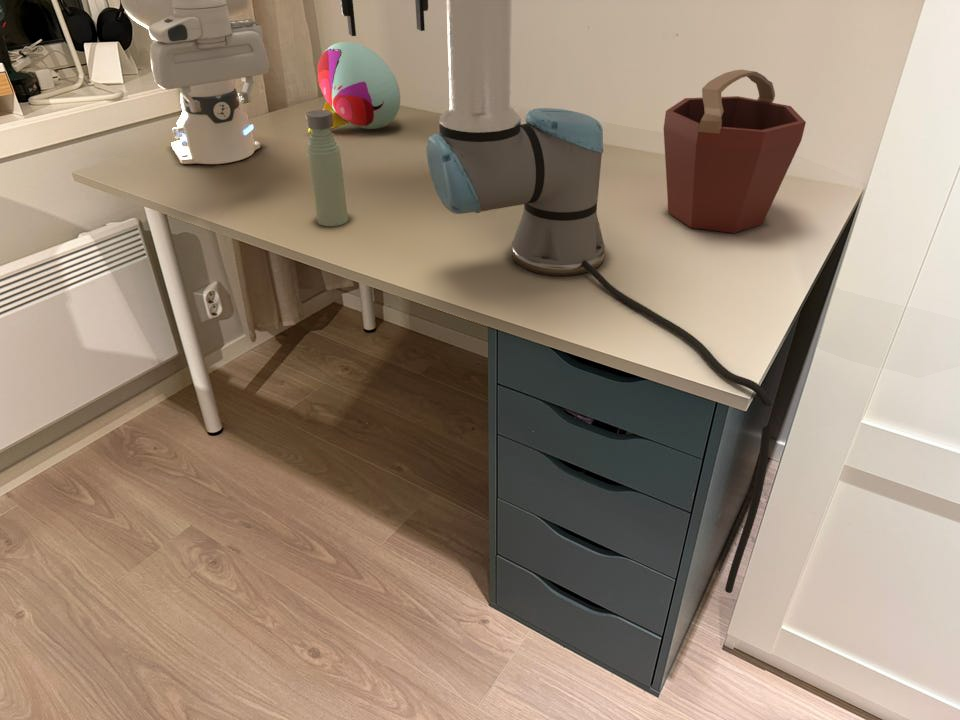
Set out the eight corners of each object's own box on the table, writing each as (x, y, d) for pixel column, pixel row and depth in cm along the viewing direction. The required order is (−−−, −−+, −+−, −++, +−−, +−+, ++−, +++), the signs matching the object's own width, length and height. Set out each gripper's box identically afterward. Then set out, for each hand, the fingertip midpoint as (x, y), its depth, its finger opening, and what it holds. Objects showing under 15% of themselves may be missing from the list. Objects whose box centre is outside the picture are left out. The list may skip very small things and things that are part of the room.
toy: (277, 110, 181) (275, 51, 163) (352, 72, 191) (358, 13, 173) (336, 175, 178) (341, 122, 160) (410, 134, 188) (421, 79, 170)
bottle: (347, 213, 134) (335, 110, 123) (348, 224, 129) (336, 119, 118) (317, 215, 133) (302, 112, 122) (317, 227, 128) (302, 121, 118)
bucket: (710, 250, 119) (740, 96, 105) (622, 208, 134) (638, 69, 120) (804, 218, 129) (843, 75, 115) (713, 183, 145) (736, 53, 131)
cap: (333, 121, 123) (331, 109, 122) (333, 128, 120) (332, 116, 119) (307, 123, 123) (305, 110, 121) (307, 130, 119) (305, 117, 118)
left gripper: (252, 16, 129) (266, 94, 137) (138, 29, 118) (160, 113, 126) (267, 19, 125) (281, 100, 133) (151, 33, 114) (172, 120, 122)
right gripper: (437, -101, 131) (441, 24, 143) (302, -99, 123) (318, 33, 135) (451, -100, 125) (454, 30, 137) (310, -98, 117) (326, 40, 129)
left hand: (221, 107), depth 129 cm, fingers open, 8 cm apart
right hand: (387, 32), depth 136 cm, fingers open, 13 cm apart
